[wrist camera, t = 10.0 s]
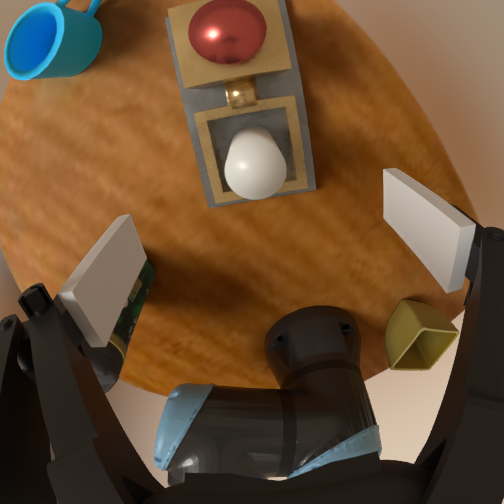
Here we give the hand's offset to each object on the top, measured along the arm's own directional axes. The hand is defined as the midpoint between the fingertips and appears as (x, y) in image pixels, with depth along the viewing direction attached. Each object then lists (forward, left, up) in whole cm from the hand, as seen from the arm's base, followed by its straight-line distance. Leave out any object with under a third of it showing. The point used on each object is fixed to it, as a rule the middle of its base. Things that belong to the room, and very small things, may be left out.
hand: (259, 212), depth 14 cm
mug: (+19, +16, -19) cm, 31 cm away
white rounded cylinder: (0, 0, -17) cm, 17 cm away
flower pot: (-29, -20, -19) cm, 40 cm away
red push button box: (+5, 0, -18) cm, 19 cm away
